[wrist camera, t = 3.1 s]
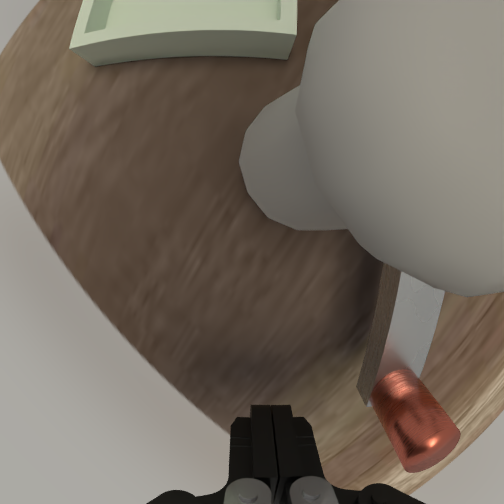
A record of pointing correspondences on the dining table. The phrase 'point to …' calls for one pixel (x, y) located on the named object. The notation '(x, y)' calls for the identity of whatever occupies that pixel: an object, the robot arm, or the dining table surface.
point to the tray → (183, 29)
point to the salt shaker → (395, 139)
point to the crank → (406, 371)
